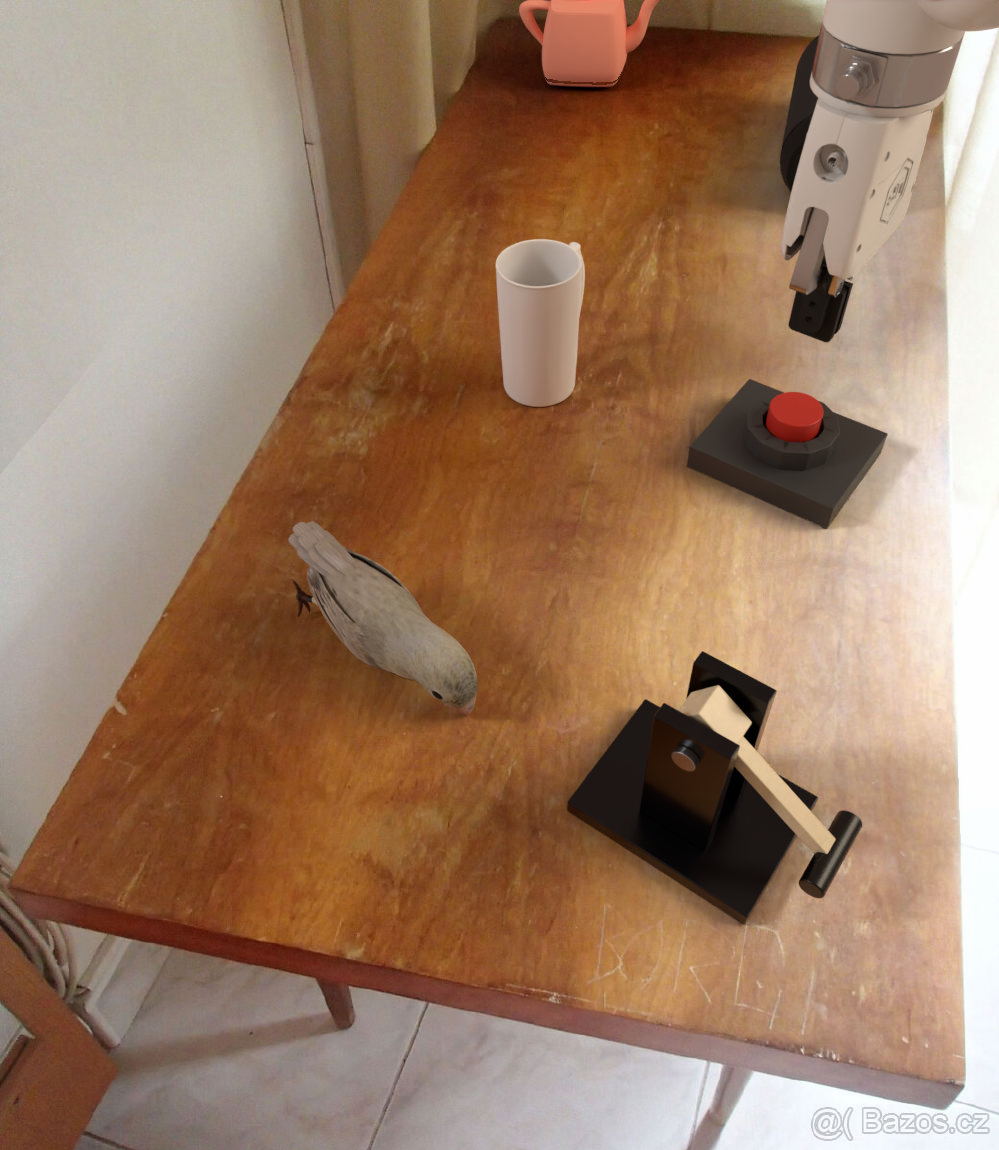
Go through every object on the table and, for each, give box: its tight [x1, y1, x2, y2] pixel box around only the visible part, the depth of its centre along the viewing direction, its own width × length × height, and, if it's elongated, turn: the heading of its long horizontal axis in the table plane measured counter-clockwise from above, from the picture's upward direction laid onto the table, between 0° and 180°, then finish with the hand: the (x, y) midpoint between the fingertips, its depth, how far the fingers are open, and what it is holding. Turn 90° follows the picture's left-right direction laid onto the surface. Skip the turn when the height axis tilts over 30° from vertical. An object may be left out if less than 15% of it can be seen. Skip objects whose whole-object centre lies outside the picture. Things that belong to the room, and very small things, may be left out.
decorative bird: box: [287, 521, 479, 717], centre depth 65 cm, size 5×16×8 cm, turn 47°
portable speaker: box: [779, 34, 819, 193], centre depth 105 cm, size 26×10×10 cm, turn 165°
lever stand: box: [566, 650, 819, 926], centre depth 55 cm, size 12×9×12 cm
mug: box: [495, 238, 586, 408], centre depth 82 cm, size 10×7×12 cm, turn 144°
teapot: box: [518, 0, 661, 88], centre depth 121 cm, size 12×18×10 cm, turn 81°
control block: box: [686, 378, 888, 530], centre depth 77 cm, size 12×10×4 cm
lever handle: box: [677, 685, 863, 899], centre depth 53 cm, size 12×5×2 cm
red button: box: [766, 391, 824, 443], centre depth 75 cm, size 4×4×2 cm
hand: (813, 329), depth 70 cm, fingers closed
